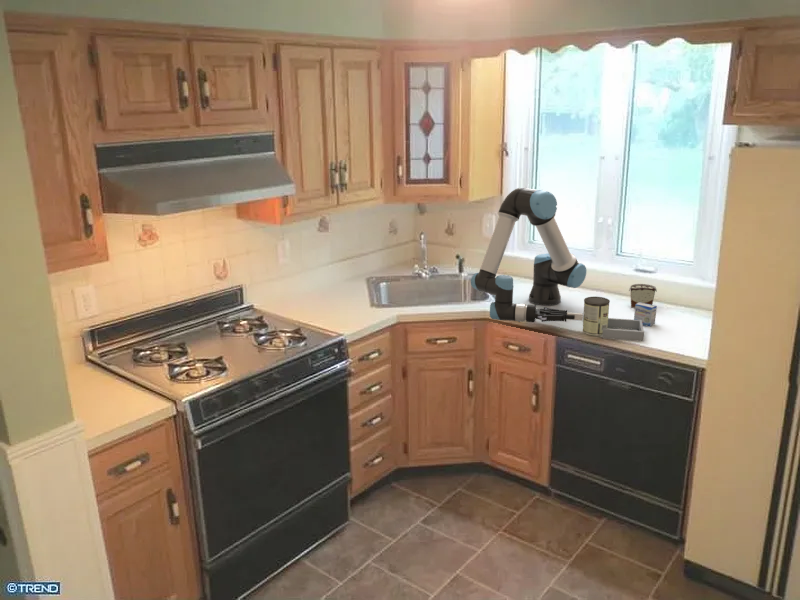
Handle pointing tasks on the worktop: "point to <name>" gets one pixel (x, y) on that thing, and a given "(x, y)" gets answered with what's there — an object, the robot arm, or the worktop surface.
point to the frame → (624, 333)
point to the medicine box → (645, 313)
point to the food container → (642, 294)
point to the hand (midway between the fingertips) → (582, 317)
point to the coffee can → (595, 315)
